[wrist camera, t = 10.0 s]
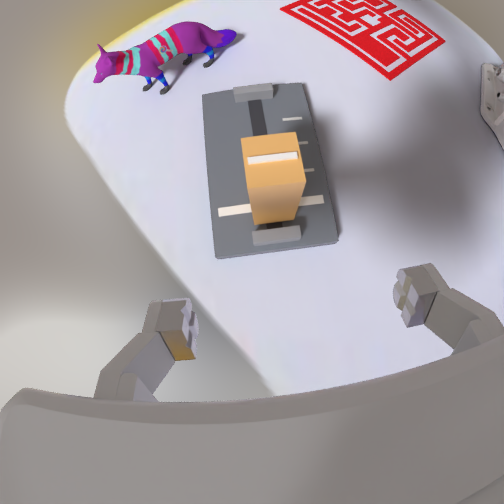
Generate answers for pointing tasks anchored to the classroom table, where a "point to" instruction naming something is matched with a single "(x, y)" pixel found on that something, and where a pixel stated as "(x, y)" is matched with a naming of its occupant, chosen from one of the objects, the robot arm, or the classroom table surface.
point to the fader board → (234, 179)
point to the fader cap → (273, 176)
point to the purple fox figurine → (162, 52)
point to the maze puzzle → (369, 32)
